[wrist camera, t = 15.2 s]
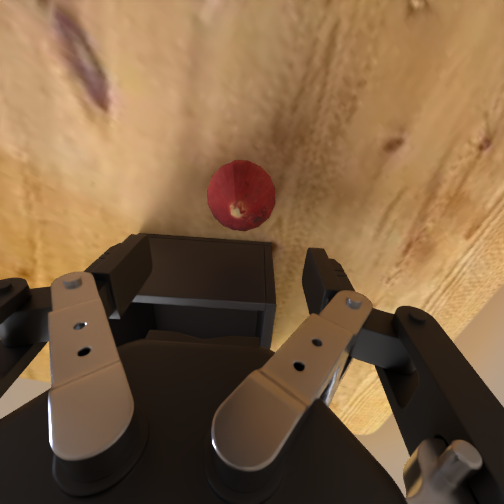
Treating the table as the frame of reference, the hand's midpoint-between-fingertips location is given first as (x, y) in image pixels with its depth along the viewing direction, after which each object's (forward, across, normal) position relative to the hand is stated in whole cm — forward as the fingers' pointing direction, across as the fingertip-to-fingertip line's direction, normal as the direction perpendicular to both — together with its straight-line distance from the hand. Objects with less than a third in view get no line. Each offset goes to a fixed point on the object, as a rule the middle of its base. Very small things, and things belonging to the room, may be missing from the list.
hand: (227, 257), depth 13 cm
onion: (+14, 0, 0) cm, 14 cm away
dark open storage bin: (+14, +4, +15) cm, 21 cm away
